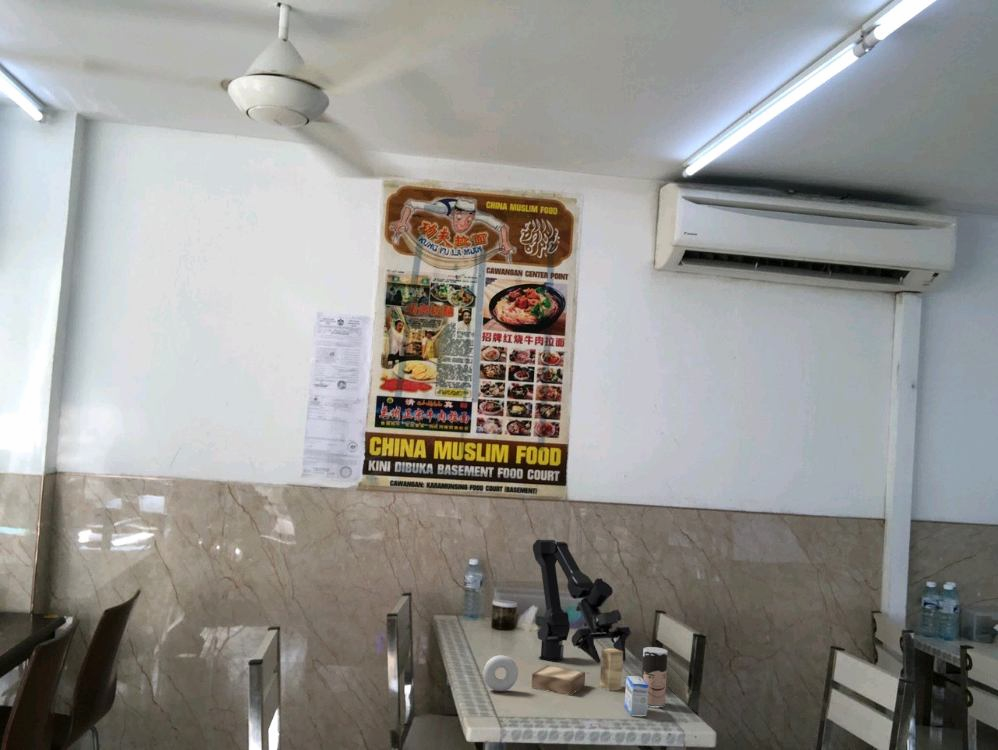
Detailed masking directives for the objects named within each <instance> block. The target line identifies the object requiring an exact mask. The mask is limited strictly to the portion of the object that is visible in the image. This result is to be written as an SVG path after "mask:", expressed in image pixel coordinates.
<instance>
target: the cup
mask: <svg viewBox="0 0 998 750" xmlns="http://www.w3.org/2000/svg"><path fill="white" fill-rule="evenodd" d="M642 650H643V651H642V652H643V653H642V667H641V668H642V669H641V677H642V679H643V680H644V681H645V682H646V683H647V684H648V704H647V705H649V706H664V705H665V706H666V692H667V691H666V690H667V689H666V688H667V687H666V686H667V671H668V654H669V653H668V650H667V649H665V648H662V647H657V646H656V647H653V646H647V647H643V649H642Z"/></svg>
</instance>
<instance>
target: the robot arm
mask: <svg viewBox="0 0 998 750" xmlns="http://www.w3.org/2000/svg"><path fill="white" fill-rule="evenodd" d="M532 551H533V555H534V559H535V561H536V562H537V563H538V565H539V566H540V570H541V577H542V579H541V580H542V586H543V595H544V602H545V613H544V615H543V617H542V625H541V626H540V628H539V629H538V631H537V639H538V640H541V646H540V649H541V650H540V656H538V659H539V658H540V659H539V660H544V659H545V661H549V660H550V661H551V662H559V661H560V659H561V660H563V659H564V649H565V648H564V647H565V646H564V644H563V641H567V640H568V637H569V633H570V630H571V629H570V628H571V627H570V625H571V623H570V619H569V613H568V612H566V611H564V610H563V609H562V606H561V605H562V604H561V598H560V591H559V589H560V588H559V584H558V583H559V580H558V575H557V568H556V564H557V563H558V564H559V567H561V570H562V571H563V573H564V575H565V577H566V579H567V585H566V586H567V589H568V592H569V595H570V597H571V598H572V599H573V600H575V599H576V600H580V599H581V600H580V602H579V601H578V603H577V606H576V609H575V610H576V612H581V614H582V617H583V618H584V623H583V626H584V627H583V628H578V629H577V630H576V631H575V632H574V634H573V635H572V636H571V644H572V645H573V647H577V648H578V649H580V650H582V651H583V652H584V653H586V654H587V655H588V656H589V657H591V658H592V659H593V660H594V661H595V662H596V663H598V664H599V663H601V659H600V655H599V653H598V649H597V648H596V645H595V640H605V639H610V640H611V642H612V643H613V644H612V647H613V648H616V649H618V650H620V651H623V662H624V661H626V642H627V640H628V638H629V637H630V636H631V635H632V631H631V629H630V627H629V626H627V625H623V626H621V625H620V626H617V627H616V628H615V629H614V630H613V631H610V630H612V628H613V625H615V624H618V623H619V621H622V614H621V612H620V611H619V609H614V610H612V611H608V612H607V611H606V612H602V611H601V607H603V606H604V605H605V604H606V602H607V601H608V600H609V599H610V598H611V596H612V595H613V588H612V586H611V585H610V584H609V583H607V582H606V581H604V580H603V579H602V578H595V580H594V581H593V580H592V579H591V578H590V577H589V576H588V575H587V574H585V573H583V572H582V571H581V569H580V568H579V565H578V564H577V562H576V560H575V558H574V556H573V555H572V553H571V551H570V549H569V545H568V543H567V542H565V541H556V540H555V539H536V540H535V541H534V543H533V545H532ZM562 658H563V659H562ZM550 661H549V662H550Z"/></svg>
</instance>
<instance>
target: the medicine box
mask: <svg viewBox="0 0 998 750" xmlns="http://www.w3.org/2000/svg"><path fill="white" fill-rule="evenodd" d="M625 677H626V678H625V693H624V705H623V707H624V709H625V708H626V709H627V710H626V709H625V710H626V711H627V712H628V714H629V713H630V714H631V715H647V716H648V707H647V704H648V684H647V683H646V682H645V681H644V680H643V679H642V676H637V675H626V676H625ZM630 714H629V715H630ZM631 715H630V716H631Z"/></svg>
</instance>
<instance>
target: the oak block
mask: <svg viewBox="0 0 998 750" xmlns="http://www.w3.org/2000/svg"><path fill="white" fill-rule="evenodd" d="M600 657H601V659H600V672H599V673H600V677H599V687H600V686H601V687H600V688H602V687H603V688H602V689H604V688H605V689H604V690H606V689H607V691H608V690H612V691H618V690H617V689H621V690H622V681H623V679H622V677H623V662H624V661H623V651H620V650H618V649H616V648H614V647H611V648H610V647H608V648H601V656H600Z"/></svg>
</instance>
